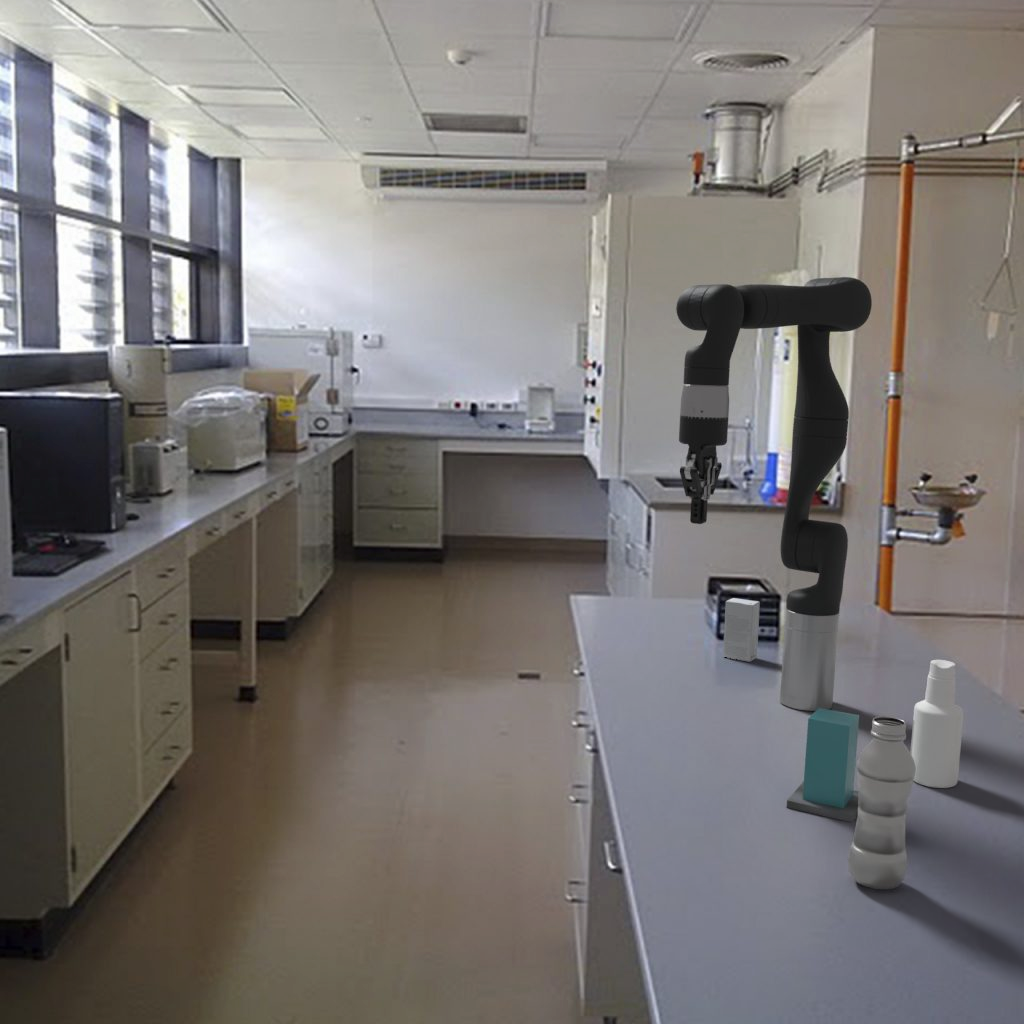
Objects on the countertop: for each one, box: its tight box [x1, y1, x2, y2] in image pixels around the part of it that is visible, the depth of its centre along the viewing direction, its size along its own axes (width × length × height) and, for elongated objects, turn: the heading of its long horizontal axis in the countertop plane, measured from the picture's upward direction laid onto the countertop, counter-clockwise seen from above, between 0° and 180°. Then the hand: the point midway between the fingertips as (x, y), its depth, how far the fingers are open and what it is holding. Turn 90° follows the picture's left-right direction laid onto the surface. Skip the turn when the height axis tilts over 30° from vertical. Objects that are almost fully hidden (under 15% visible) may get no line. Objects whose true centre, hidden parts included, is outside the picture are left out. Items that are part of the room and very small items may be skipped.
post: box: [786, 780, 859, 823], centre depth 156 cm, size 9×9×8 cm
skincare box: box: [722, 597, 761, 663], centre depth 230 cm, size 6×4×12 cm
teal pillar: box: [803, 708, 860, 808], centre depth 155 cm, size 6×6×12 cm
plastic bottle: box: [847, 716, 916, 890], centre depth 131 cm, size 6×7×20 cm
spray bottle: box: [909, 659, 964, 789], centre depth 165 cm, size 7×7×18 cm
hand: (698, 522), depth 178 cm, fingers closed
